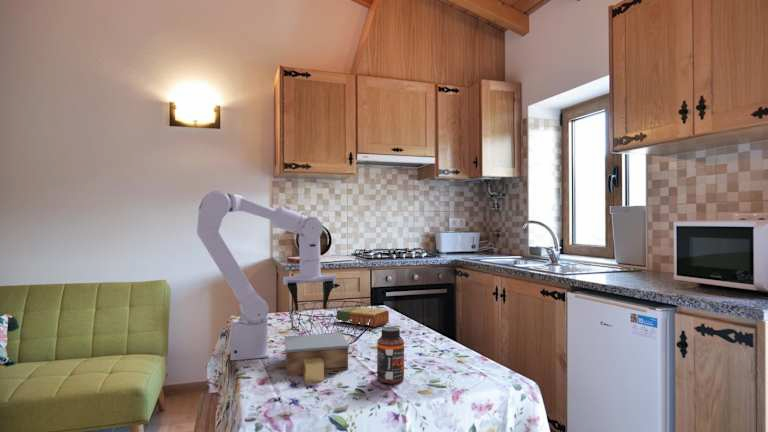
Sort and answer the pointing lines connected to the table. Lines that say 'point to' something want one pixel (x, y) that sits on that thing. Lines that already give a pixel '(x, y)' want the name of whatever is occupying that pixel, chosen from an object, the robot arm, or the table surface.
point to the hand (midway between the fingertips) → (310, 309)
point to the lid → (315, 342)
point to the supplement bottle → (390, 356)
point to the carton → (364, 316)
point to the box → (330, 357)
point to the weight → (313, 370)
